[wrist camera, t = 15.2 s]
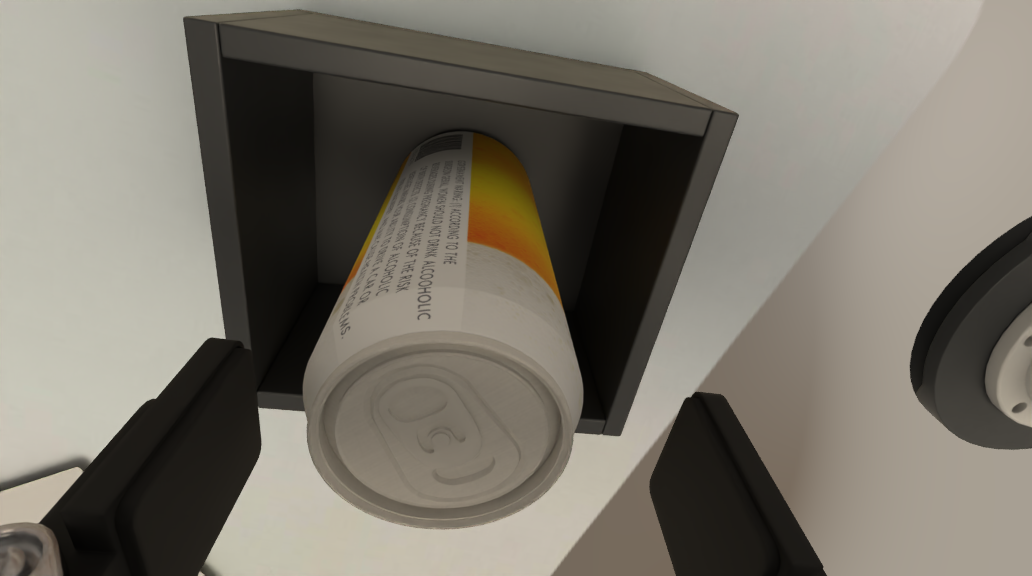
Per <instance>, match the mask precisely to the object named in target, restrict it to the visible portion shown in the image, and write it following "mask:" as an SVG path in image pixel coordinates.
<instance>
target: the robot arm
mask: <svg viewBox="0 0 1032 576" xmlns="http://www.w3.org/2000/svg"><path fill="white" fill-rule="evenodd" d="M985 386H986V393H987V395H988V397H989V399H990V400H991V402H992V404H993V405H995V406H996V407H997V408H998V409H999V410H1000V411H1001V412H1003V413H1004V414H1005V415H1006V416H1007V417H1009V418H1011V419H1012V420H1014V421H1015V422H1017V423H1019V424H1022V425H1026V426H1029V427H1032V302H1031V303H1030V304H1029V305H1028V306H1027V307H1026V308H1025V309H1024V310H1023V311H1022V312H1021V313H1020V314H1019V315H1018V316H1017V317H1016V318H1015V319H1014V320H1013V322H1012V323H1011V324H1010V325H1009V326H1008V328H1007V329H1006V330H1005V331H1004V333H1003V334H1002V336H1001V337H1000V339H999V341H998V342H997V344H996V345H995V347H994V349H993V351H992V353H991V356H990V359H989V361H988V364H987V368H986V375H985ZM260 451H261V433H260V423H259V413H258V404H257V394H256V384H255V375H254V365H253V355H252V351H251V350H250V349H244V345H243V343H242V342H241V341H237V340H228V339H219V338H209V339H207V340H206V341H205V342H204V343H203V345H202V346H201V347H200V348H199V349H198V350H197V352H196V353H195V354H194V355H193V356H192V357H191V359H190V360H189V361H188V362H187V363H186V364H185V366H184V367H183V368H182V369H181V370H180V371H179V373H178V374H177V375H176V376H175V377H174V378H173V380H172V381H171V382H170V383H169V384H168V385H167V387H166V388H165V389H164V390H163V391H162V392H161V394H160V395H159V396H158V397H157V398H156V399H151V400H149V401H147V402H146V403H144V404H143V405H142V406H141V407H140V408H139V409H138V410H137V411H136V413H135V414H134V415H133V416H132V417H131V418H130V419H129V421H128V422H127V423H126V424H125V425H124V426H123V427H122V429H121V430H120V431H119V432H118V433H117V434H116V435H115V437H114V438H113V439H112V440H111V441H110V442H109V443H108V445H107V446H106V447H105V448H104V449H103V450H102V451H101V452H100V454H99V455H98V456H97V457H96V458H95V459H94V460H93V462H92V463H91V464H90V465H89V466H88V467H87V468H86V470H85V471H84V472H83V473H82V474H81V475H80V476H79V478H78V479H77V480H76V481H75V482H74V483H73V484H72V486H71V487H70V488H69V489H68V490H67V491H66V492H65V494H64V495H63V496H62V497H61V498H60V499H59V500H58V502H57V503H56V504H55V505H54V506H53V507H52V508H51V510H50V511H49V512H48V513H47V514H46V515H45V516H44V517H43V519H42V520H41V521H40V522H39V523H31V522H20V523H10V524H5V525H1V526H0V576H198V574H199V572H200V570H201V568H202V566H203V564H204V562H205V561H206V559H207V557H208V555H209V553H210V551H211V549H212V547H213V545H214V543H215V541H216V539H217V537H218V535H219V534H220V532H221V530H222V528H223V526H224V524H225V522H226V520H227V518H228V516H229V514H230V512H231V510H232V509H233V507H234V505H235V503H236V501H237V499H238V497H239V495H240V493H241V491H242V489H243V487H244V485H245V483H246V482H247V480H248V478H249V476H250V474H251V472H252V470H253V468H254V466H255V464H256V462H257V460H258V458H259V455H260ZM650 494H651V498H652V501H653V504H654V507H655V510H656V514H657V517H658V520H659V523H660V526H661V530H662V533H663V536H664V539H665V542H666V545H667V549H668V552H669V555H670V558H671V561H672V564H673V567H674V571H675V574H676V576H827V575H826V573H825V572H824V570H823V565H822V563H821V562H820V560H819V558H818V556H817V555H816V553H815V551H814V550H813V548H812V546H811V544H810V543H809V541H808V539H807V537H806V536H805V534H804V532H803V531H802V529H801V527H800V526H799V524H798V522H797V520H796V519H795V517H794V515H793V514H792V512H791V510H790V508H789V507H788V505H787V503H786V501H785V500H784V498H783V496H782V494H781V493H780V491H779V489H778V488H777V486H776V484H775V482H774V481H773V479H772V477H771V476H770V474H769V472H768V470H767V469H766V467H765V465H764V464H763V462H762V460H761V458H760V457H759V455H758V453H757V451H756V450H755V448H754V446H753V445H752V443H751V441H750V439H749V438H748V436H747V434H746V433H745V431H744V429H743V427H742V426H741V424H740V422H739V421H738V419H737V417H736V415H735V414H734V412H733V410H732V408H731V407H730V405H729V403H728V402H727V400H726V398H725V397H724V396H723V395H721V394H713V393H703V392H695V393H694V394H693V395H692V397H691V398H690V397H688V398H686V399H685V400H684V402H683V404H682V406H681V409H680V411H679V413H678V416H677V418H676V420H675V423H674V425H673V427H672V430H671V432H670V434H669V437H668V439H667V441H666V444H665V446H664V448H663V450H662V453H661V455H660V457H659V460H658V462H657V464H656V467H655V469H654V471H653V474H652V476H651V479H650Z"/></svg>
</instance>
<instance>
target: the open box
mask: <svg viewBox="0 0 1032 576" xmlns="http://www.w3.org/2000/svg"><path fill="white" fill-rule="evenodd" d="M183 22H184V29H185V36H186V44H187V51H188V59H189V66H190V74H191V81H192V89H193V96H194V104H195V111H196V119H197V126H198V134H199V141H200V149H201V156H202V164H203V171H204V179H205V186H206V194H207V201H208V209H209V216H210V224H211V231H212V239H213V246H214V254H215V261H216V269H217V276H218V284H219V291H220V299H221V306H222V314H223V321H224V329H225V336H226V339H228V340H237V341H241V342H242V343H243V345H244V349H250V350H251V351H252V355H253V365H254V375H255V384H256V394H257V404H258V407H259V408H268V409H281V410H293V411H305V408H304V402H303V381H304V374H305V371H306V367H307V364H308V361H309V359H310V357H311V355H312V353H313V351H314V348H315V346H316V344H317V342H318V340H319V338H320V336H321V334H322V332H323V330H324V327H325V325H326V323H327V321H328V319H329V317H330V315H331V313H332V311H333V308H334V306H335V304H336V302H337V300H338V298H339V296H340V294H341V292H342V290H343V287H344V285H345V283H346V281H347V279H348V277H349V275H350V273H351V271H352V268H353V266H354V264H355V262H356V260H357V258H358V256H359V254H360V252H361V250H362V247H363V245H364V243H365V241H366V239H367V237H368V235H369V233H370V231H371V228H372V226H373V224H374V222H375V220H376V218H377V216H378V214H379V212H380V209H381V207H382V205H383V203H384V201H385V199H386V197H387V195H388V193H389V191H390V188H391V186H392V184H393V182H394V180H395V178H396V176H397V174H398V172H399V170H400V167H401V165H402V164H403V162H404V161H405V159H406V158H407V156H408V155H409V154H410V153H411V152H412V151H413V150H414V149H415V148H416V147H417V146H419V145H420V144H421V143H423V142H424V141H426V140H428V139H430V138H432V137H434V136H437V135H440V134H444V133H448V132H456V131H466V132H474V133H478V134H482V135H485V136H488V137H490V138H492V139H494V140H496V141H498V142H500V143H501V144H503V145H504V146H506V147H507V148H508V149H509V150H510V151H511V152H512V153H513V154H514V155H515V156H516V157H517V158H518V160H519V161H520V162H521V164H522V165H523V167H524V169H525V171H526V173H527V175H528V178H529V181H530V185H531V188H532V192H533V196H534V200H535V203H536V207H537V211H538V215H539V219H540V222H541V226H542V230H543V234H544V237H545V241H546V245H547V249H548V252H549V256H550V260H551V264H552V268H553V271H554V275H555V279H556V283H557V286H558V290H559V294H560V298H561V301H562V305H563V309H564V313H565V317H566V320H567V324H568V328H569V332H570V335H571V339H572V343H573V347H574V351H575V354H576V358H577V362H578V366H579V369H580V373H581V377H582V383H583V406H582V412H581V416H580V419H579V422H578V425H577V427H576V430H575V432H574V433H585V434H597V435H600V434H603V435H610V436H620V435H621V433H622V431H623V428H624V425H625V422H626V420H627V417H628V414H629V412H630V409H631V406H632V404H633V401H634V398H635V395H636V393H637V390H638V387H639V385H640V382H641V379H642V376H643V374H644V371H645V368H646V366H647V363H648V360H649V358H650V355H651V352H652V349H653V347H654V344H655V341H656V339H657V336H658V333H659V331H660V328H661V325H662V322H663V320H664V317H665V314H666V312H667V309H668V306H669V304H670V301H671V298H672V295H673V293H674V290H675V287H676V285H677V282H678V279H679V276H680V274H681V271H682V268H683V266H684V263H685V260H686V258H687V255H688V252H689V249H690V247H691V244H692V241H693V239H694V236H695V233H696V231H697V228H698V225H699V222H700V220H701V217H702V214H703V212H704V209H705V206H706V204H707V201H708V198H709V195H710V193H711V190H712V187H713V185H714V182H715V179H716V176H717V174H718V171H719V168H720V166H721V163H722V160H723V158H724V155H725V152H726V149H727V147H728V144H729V141H730V139H731V136H732V133H733V131H734V128H735V125H736V122H737V120H738V117H739V114H737V113H736V112H734V111H731V110H729V109H727V108H725V107H722V106H720V105H718V104H716V103H713V102H711V101H709V100H707V99H705V98H702V97H700V96H698V95H696V94H693V93H691V92H689V91H687V90H685V89H682V88H680V87H678V86H676V85H673V84H671V83H669V82H667V81H665V80H662V79H660V78H658V77H656V76H653V75H651V74H649V73H646V72H640V71H635V70H630V69H624V68H619V67H613V66H608V65H602V64H597V63H591V62H586V61H580V60H575V59H569V58H564V57H558V56H553V55H547V54H542V53H536V52H531V51H525V50H520V49H514V48H509V47H503V46H498V45H492V44H487V43H481V42H476V41H470V40H465V39H459V38H454V37H448V36H443V35H437V34H432V33H426V32H421V31H415V30H410V29H404V28H399V27H394V26H388V25H383V24H377V23H372V22H366V21H361V20H355V19H350V18H344V17H339V16H333V15H328V14H322V13H317V12H311V11H306V10H300V9H298V10H280V11H264V12H248V13H233V14H217V15H202V16H186V17H184V18H183Z"/></svg>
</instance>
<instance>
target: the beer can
mask: <svg viewBox="0 0 1032 576" xmlns="http://www.w3.org/2000/svg"><path fill="white" fill-rule="evenodd" d="M303 402H304V408H305V413H306V417H307V421H308V424H307V442H308V448H309V452H310V455H311V458H312V461H313V463H314V465H315V467H316V469H317V471H318V472H319V474H320V475H321V477H322V478H323V479H324V481H325V482H326V483H327V484H328V485H329V486H330V487H331V489H332V490H333V491H334V492H336V493H337V494H338V495H339V496H340V497H341V498H343V499H344V500H345V501H347V502H348V503H350V504H351V505H353V506H354V507H356V508H358V509H360V510H362V511H363V512H365V513H368V514H370V515H372V516H374V517H377V518H380V519H382V520H385V521H388V522H392V523H396V524H400V525H404V526H410V527H415V528H425V529H459V528H467V527H473V526H478V525H483V524H487V523H490V522H494V521H497V520H500V519H503V518H505V517H508V516H510V515H512V514H514V513H517V512H519V511H521V510H522V509H524V508H526V507H527V506H529V505H531V504H532V503H533V502H535V501H536V500H538V499H539V498H540V497H541V496H543V495H544V494H545V493H546V492H547V491H548V490H549V489H550V488H551V487H552V486H553V485H554V483H555V482H556V481H557V480H558V478H559V477H560V475H561V474H562V472H563V471H564V469H565V467H566V465H567V463H568V460H569V457H570V454H571V450H572V444H573V435H574V432H575V430H576V427H577V425H578V422H579V419H580V416H581V412H582V406H583V383H582V377H581V373H580V369H579V366H578V362H577V358H576V354H575V351H574V347H573V343H572V339H571V335H570V332H569V328H568V324H567V320H566V317H565V313H564V309H563V305H562V301H561V298H560V294H559V290H558V286H557V283H556V279H555V275H554V271H553V268H552V264H551V260H550V256H549V252H548V249H547V245H546V241H545V237H544V234H543V230H542V226H541V222H540V219H539V215H538V211H537V207H536V203H535V200H534V196H533V192H532V188H531V185H530V181H529V178H528V175H527V173H526V171H525V169H524V167H523V165H522V164H521V162H520V161H519V160H518V158H517V157H516V156H515V155H514V154H513V153H512V152H511V151H510V150H509V149H508V148H507V147H506V146H504V145H503V144H501V143H500V142H498V141H496V140H494V139H492V138H490V137H488V136H485V135H482V134H478V133H474V132H466V131H456V132H448V133H444V134H440V135H437V136H434V137H432V138H430V139H428V140H426V141H424V142H423V143H421V144H420V145H419V146H417V147H416V148H415V149H414V150H413V151H412V152H411V153H410V154H409V155H408V156H407V158H406V159H405V161H404V162H403V164H402V165H401V167H400V170H399V172H398V174H397V176H396V178H395V180H394V182H393V184H392V186H391V188H390V191H389V193H388V195H387V197H386V199H385V201H384V203H383V205H382V207H381V209H380V212H379V214H378V216H377V218H376V220H375V222H374V224H373V226H372V228H371V231H370V233H369V235H368V237H367V239H366V241H365V243H364V245H363V247H362V250H361V252H360V254H359V256H358V258H357V260H356V262H355V264H354V266H353V268H352V271H351V273H350V275H349V277H348V279H347V281H346V283H345V285H344V287H343V290H342V292H341V294H340V296H339V298H338V300H337V302H336V304H335V306H334V308H333V311H332V313H331V315H330V317H329V319H328V321H327V323H326V325H325V327H324V330H323V332H322V334H321V336H320V338H319V340H318V342H317V344H316V346H315V348H314V351H313V353H312V355H311V357H310V359H309V361H308V364H307V367H306V371H305V374H304V381H303Z"/></svg>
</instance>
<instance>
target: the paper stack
mask: <svg viewBox="0 0 1032 576" xmlns="http://www.w3.org/2000/svg"><path fill="white" fill-rule="evenodd" d="M83 472H84V471H82V470H81V469H80V468H79V467H78V466H77V467H74V468H71V469H68V470H65V471H62V472H59V473H56V474H53V475H50V476H47V477H44V478H41V479H38V480H35V481H31V482H28V483H25V484H22V485H19V486H16V487H13V488H10V489H7V490H4V491H1V492H0V526H1V525H5V524H10V523H20V522H31V523H39V522H40V521H41V520H42V519H43V517H44V516H45V515H46V514H47V513H48V512H49V511H50V510H51V508H52V507H53V506H54V505H55V504H56V503H57V502H58V500H59V499H60V498H61V497H62V496H63V495H64V494H65V492H66V491H67V490H68V489H69V488H70V487H71V486H72V484H73V483H74V482H75V481H76V480H77V479H78V478H79V476H80V475H81V474H82V473H83ZM198 576H205V575H204V574H203V573H201V572H199V574H198Z"/></svg>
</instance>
